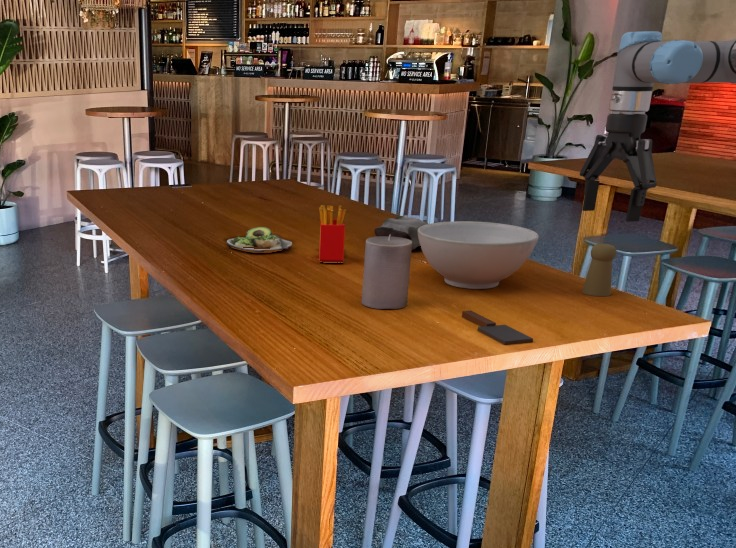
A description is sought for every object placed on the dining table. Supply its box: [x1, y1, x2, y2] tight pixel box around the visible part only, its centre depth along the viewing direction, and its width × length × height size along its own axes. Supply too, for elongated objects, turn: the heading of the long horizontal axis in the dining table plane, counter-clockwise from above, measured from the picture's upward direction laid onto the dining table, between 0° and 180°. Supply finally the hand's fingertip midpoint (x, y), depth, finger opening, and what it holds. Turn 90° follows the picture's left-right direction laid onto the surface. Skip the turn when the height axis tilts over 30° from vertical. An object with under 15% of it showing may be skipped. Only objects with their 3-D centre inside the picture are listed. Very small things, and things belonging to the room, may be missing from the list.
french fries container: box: [318, 204, 348, 263], centre depth 207 cm, size 7×9×14 cm
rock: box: [373, 215, 429, 251], centre depth 224 cm, size 18×11×8 cm, turn 18°
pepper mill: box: [581, 243, 617, 297], centre depth 176 cm, size 6×6×11 cm
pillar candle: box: [361, 234, 413, 310], centre depth 168 cm, size 10×10×15 cm
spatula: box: [461, 310, 534, 346], centre depth 154 cm, size 18×6×1 cm, turn 15°
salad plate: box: [226, 226, 293, 252], centre depth 223 cm, size 19×18×5 cm
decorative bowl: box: [418, 220, 540, 290], centre depth 185 cm, size 27×27×12 cm
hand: (609, 215), depth 172 cm, fingers open, 13 cm apart
